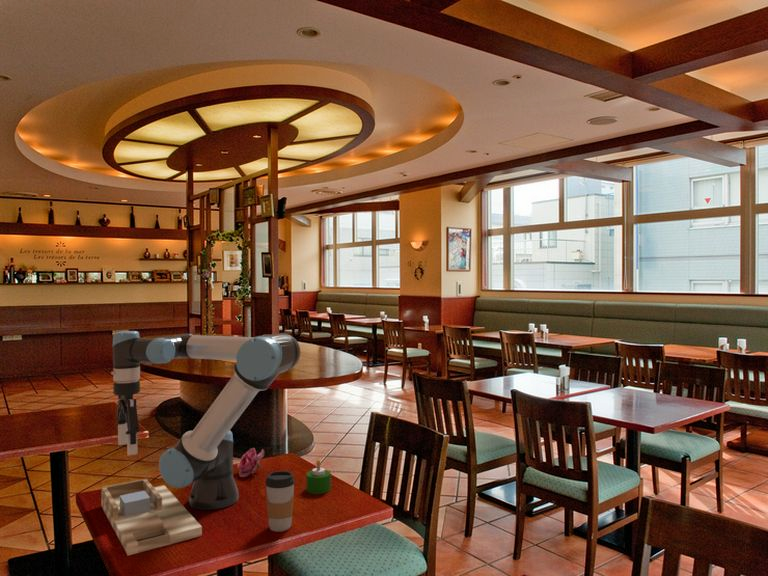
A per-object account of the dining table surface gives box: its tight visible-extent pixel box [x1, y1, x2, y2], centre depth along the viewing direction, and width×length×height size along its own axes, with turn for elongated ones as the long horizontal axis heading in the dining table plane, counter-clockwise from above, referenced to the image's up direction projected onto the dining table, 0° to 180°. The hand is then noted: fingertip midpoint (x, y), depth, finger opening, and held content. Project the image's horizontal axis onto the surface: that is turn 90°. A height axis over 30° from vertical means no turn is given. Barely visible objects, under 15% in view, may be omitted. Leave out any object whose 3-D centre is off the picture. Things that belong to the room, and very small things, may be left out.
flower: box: [237, 447, 266, 478], centre depth 202 cm, size 11×10×10 cm
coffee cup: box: [265, 470, 295, 533], centre depth 158 cm, size 8×8×15 cm
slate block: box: [120, 491, 150, 517], centre depth 163 cm, size 7×7×4 cm
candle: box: [305, 459, 332, 495], centre depth 187 cm, size 8×8×10 cm
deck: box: [100, 477, 203, 556], centre depth 162 cm, size 39×19×6 cm, turn 36°
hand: (127, 449), depth 170 cm, fingers open, 13 cm apart
